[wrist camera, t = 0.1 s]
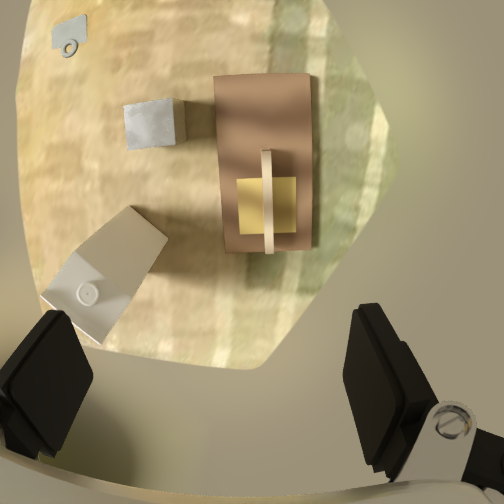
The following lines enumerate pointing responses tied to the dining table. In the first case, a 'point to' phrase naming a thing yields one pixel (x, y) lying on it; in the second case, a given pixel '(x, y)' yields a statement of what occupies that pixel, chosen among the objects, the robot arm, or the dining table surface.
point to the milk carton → (105, 273)
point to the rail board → (265, 161)
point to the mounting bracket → (70, 34)
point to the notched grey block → (155, 123)
